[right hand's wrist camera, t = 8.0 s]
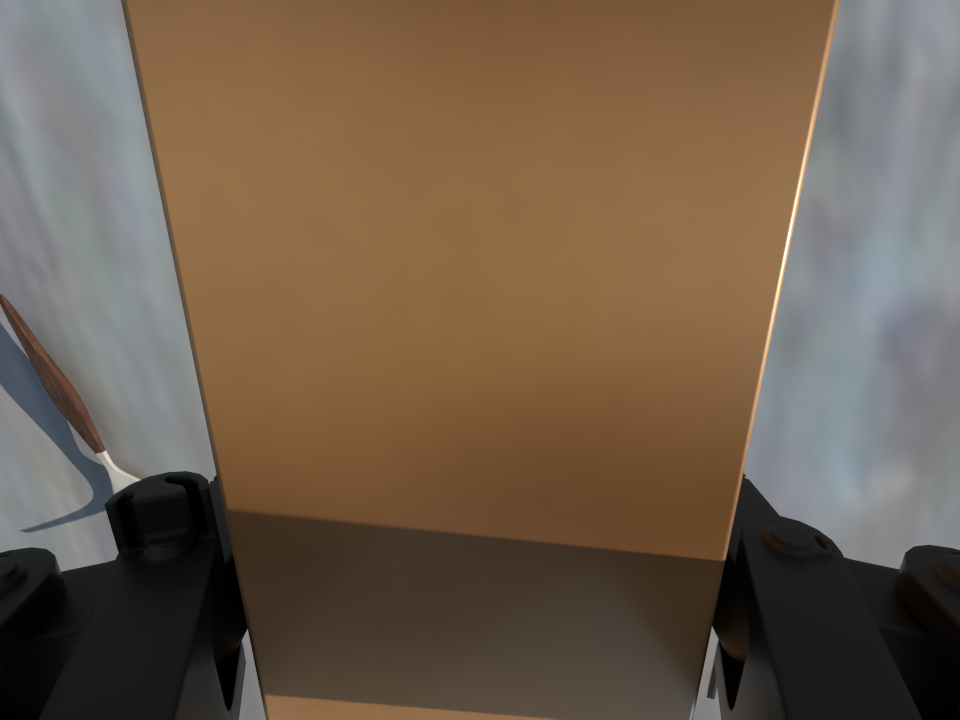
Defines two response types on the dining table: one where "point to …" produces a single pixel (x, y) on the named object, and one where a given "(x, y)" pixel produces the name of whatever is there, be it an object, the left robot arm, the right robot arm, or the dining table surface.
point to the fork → (64, 396)
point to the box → (480, 329)
